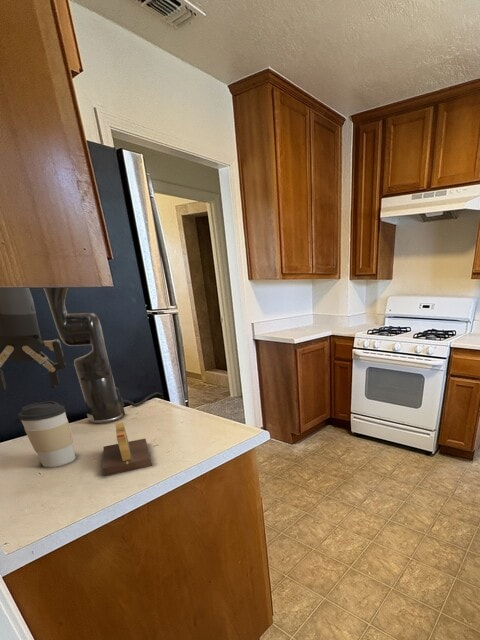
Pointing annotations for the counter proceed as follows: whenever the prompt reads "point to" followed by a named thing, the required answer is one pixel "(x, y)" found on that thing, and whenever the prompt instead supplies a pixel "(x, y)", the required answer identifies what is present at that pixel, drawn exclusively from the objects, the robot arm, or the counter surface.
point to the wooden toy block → (123, 441)
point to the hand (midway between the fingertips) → (29, 387)
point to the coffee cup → (48, 432)
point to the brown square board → (117, 465)
